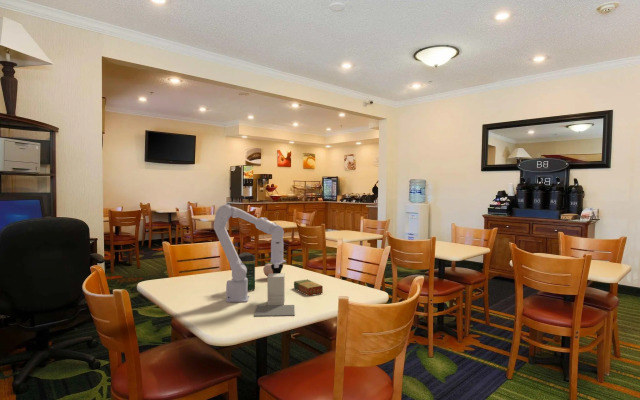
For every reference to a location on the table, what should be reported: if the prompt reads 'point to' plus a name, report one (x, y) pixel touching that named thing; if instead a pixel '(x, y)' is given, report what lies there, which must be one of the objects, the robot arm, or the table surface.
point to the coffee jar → (249, 268)
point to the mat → (274, 310)
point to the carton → (308, 287)
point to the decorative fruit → (268, 269)
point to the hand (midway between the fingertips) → (277, 280)
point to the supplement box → (276, 288)
